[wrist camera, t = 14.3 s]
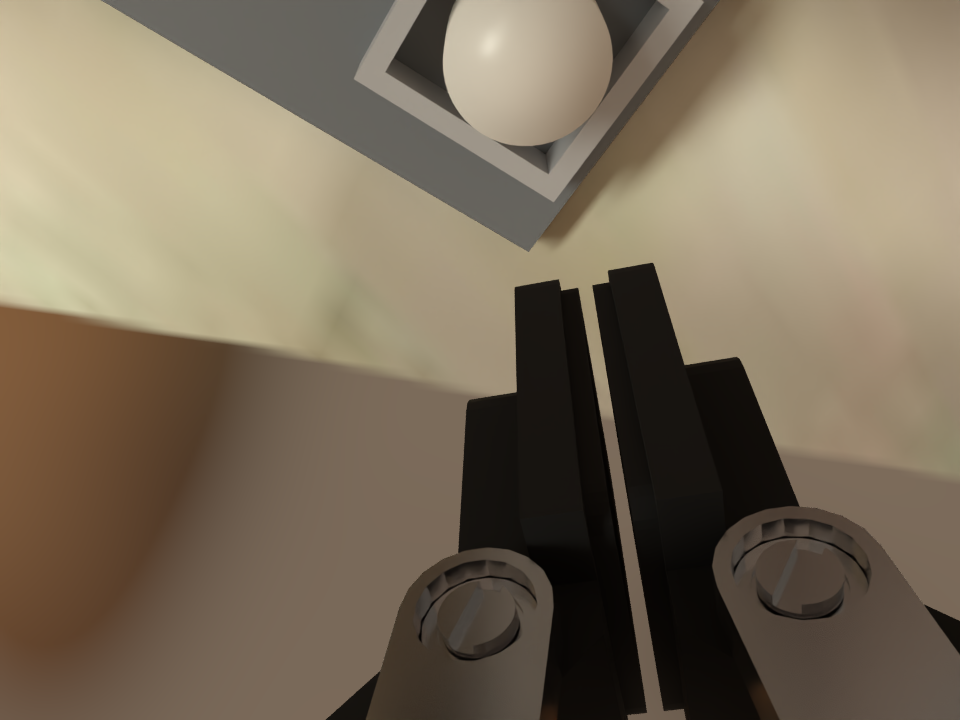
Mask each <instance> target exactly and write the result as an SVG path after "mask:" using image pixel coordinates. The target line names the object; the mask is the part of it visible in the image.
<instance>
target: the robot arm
mask: <svg viewBox="0 0 960 720" xmlns="http://www.w3.org/2000/svg"><path fill="white" fill-rule="evenodd" d="M608 276H609V283H603V284H597V285H592V286H593V293H594V299H595V305H596V311H597V317H598V323H599V329H600V335H601V341H602V347H603V353H604V359H605V365H606V371H607V378H608V384H609V390H610V396H611V402H612V408H613V414H614V420H615V426H616V432H617V438H618V444H619V450H620V456H621V462H622V468H623V474H624V480H625V486H626V492H627V498H628V503H629V510H630V515H631V521H632V526H633V533H634V539H635V545H636V550H637V557H638V562H639V568H640V574H641V580H642V586H643V592H644V598H645V604H646V609H647V615H648V621H649V627H650V632H651V639H652V645H653V651H654V656H655V662H656V668H657V674H658V680H659V686H660V692H661V698H662V703H663V709H664V711H668V710H677V709H684V712H685V716H686V720H960V621H959V620H956V619H954V618H952V617H950V616H948V615H946V614H943V613H941V612H939V611H937V610H935V609H932V608H930V607H928V606H926V605H924V604H923V603H922V602H921V600H920V599H919V597H918V596H917V595H916V593H915V592H914V591H913V589H912V588H911V586H910V585H909V584H908V582H907V581H906V579H905V578H904V576H903V575H902V574H901V572H900V571H899V570H898V568H897V567H896V565H895V564H894V563H893V561H892V560H891V558H890V557H889V556H888V554H887V553H886V552H885V550H884V549H883V548H882V546H881V545H880V544H879V543H878V542H877V541H876V540H875V539H874V538H873V537H872V536H871V535H870V534H869V533H868V532H867V531H866V530H865V529H864V528H863V527H861V526H859V525H857V524H855V523H854V522H852V521H850V520H849V519H847V518H845V517H843V516H841V515H838V514H835V513H831V512H828V511H825V510H821V509H818V508H808V507H800V506H799V504H798V501H797V499H796V496H795V494H794V492H793V489H792V487H791V485H790V481H789V479H788V476H787V474H786V471H785V469H784V467H783V464H782V462H781V459H780V457H779V454H778V451H777V449H776V446H775V444H774V441H773V439H772V436H771V434H770V431H769V429H768V426H767V424H766V421H765V419H764V416H763V414H762V411H761V409H760V406H759V404H758V401H757V399H756V396H755V394H754V391H753V389H752V386H751V384H750V381H749V379H748V376H747V374H746V371H745V369H744V367H743V365H742V363H741V361H740V359H739V358H737V357H733V358H727V359H721V360H715V361H709V362H702V363H696V364H690V365H684V362H683V359H682V356H681V352H680V349H679V346H678V342H677V339H676V336H675V332H674V329H673V326H672V323H671V319H670V316H669V313H668V309H667V306H666V303H665V299H664V296H663V293H662V289H661V286H660V283H659V280H658V276H657V273H656V270H655V266H654V264H653V263H648V264H642V265H637V266H631V267H625V268H620V269H614V270H609V271H608ZM515 332H516V377H517V392H516V393H509V394H503V395H497V396H491V397H485V398H478V399H472V400H469V401H468V403H467V410H466V425H465V443H464V461H463V480H462V496H461V514H460V532H459V549H458V554H455V555H452V556H450V557H447V558H444V559H442V560H441V561H439V562H438V563H437V564H435V565H434V566H432V567H430V568H429V569H427V570H426V571H424V572H423V573H422V574H421V575H420V577H419V578H418V579H417V580H416V581H415V582H414V583H413V584H412V585H411V587H410V588H409V589H408V591H407V593H406V595H405V597H404V599H403V601H402V603H401V605H400V607H399V610H398V614H397V617H396V621H395V624H394V627H393V631H392V634H391V637H390V640H389V644H388V647H387V650H386V654H385V657H384V661H383V664H382V667H381V670H380V672H378V674H376V675H375V676H374V677H373V678H372V679H371V680H370V681H369V682H367V683H366V684H365V685H364V686H363V687H362V688H361V689H360V690H358V691H357V692H356V693H355V694H354V695H353V696H352V697H351V698H349V699H348V700H347V701H346V702H345V703H344V704H343V705H342V706H341V707H340V708H338V709H337V710H336V711H335V712H334V713H333V714H332V715H331V716H329V717H328V718H327V719H326V720H628V717H627V715H631V714H640V713H647V710H646V703H645V696H644V690H643V683H642V676H641V670H640V664H639V657H638V650H637V644H636V637H635V630H634V624H633V617H632V611H631V604H630V598H629V592H628V585H627V578H626V571H625V565H624V558H623V552H622V545H621V539H620V532H619V525H618V519H617V512H616V506H615V499H614V492H613V487H612V479H611V473H610V467H609V461H608V456H607V450H606V444H605V438H604V432H603V427H602V422H601V415H600V410H599V404H598V398H597V392H596V387H595V381H594V375H593V370H592V364H591V358H590V353H589V347H588V341H587V335H586V330H585V324H584V318H583V313H582V307H581V301H580V296H579V290H578V288H574V289H569V290H563V291H561V287H560V282H559V279H558V280H552V281H546V282H541V283H535V284H530V285H524V286H518V287H515Z"/></svg>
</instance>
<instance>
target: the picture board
mask: <svg viewBox="0 0 960 720" xmlns="http://www.w3.org/2000/svg"><path fill="white" fill-rule="evenodd" d="M102 1H103V2H105V3H107V4H108V5H110V6H112V7H113V8H115V9H117V10H119V11H120V12H122V13H124V14H125V15H127V16H129V17H130V18H132V19H134V20H136V21H137V22H139V23H141V24H142V25H144V26H146V27H147V28H149V29H151V30H153V31H154V32H156V33H158V34H159V35H161V36H163V37H164V38H166V39H168V40H170V41H171V42H173V43H175V44H176V45H178V46H180V47H181V48H183V49H185V50H187V51H188V52H190V53H192V54H193V55H195V56H197V57H198V58H200V59H202V60H203V61H205V62H207V63H209V64H210V65H212V66H214V67H215V68H217V69H219V70H220V71H222V72H224V73H226V74H227V75H229V76H231V77H232V78H234V79H236V80H237V81H239V82H241V83H243V84H244V85H246V86H248V87H249V88H251V89H253V90H254V91H256V92H258V93H260V94H261V95H263V96H265V97H266V98H268V99H270V100H271V101H273V102H275V103H277V104H278V105H280V106H282V107H283V108H285V109H287V110H288V111H290V112H292V113H293V114H295V115H297V116H299V117H300V118H302V119H304V120H305V121H307V122H309V123H310V124H312V125H314V126H316V127H317V128H319V129H321V130H322V131H324V132H326V133H327V134H329V135H331V136H333V137H334V138H336V139H338V140H339V141H341V142H343V143H344V144H346V145H348V146H350V147H351V148H353V149H355V150H356V151H358V152H360V153H361V154H363V155H365V156H367V157H368V158H370V159H372V160H373V161H375V162H377V163H378V164H380V165H382V166H383V167H385V168H387V169H389V170H390V171H392V172H394V173H395V174H397V175H399V176H400V177H402V178H404V179H406V180H407V181H409V182H411V183H412V184H414V185H416V186H417V187H419V188H421V189H423V190H424V191H426V192H428V193H429V194H431V195H433V196H434V197H436V198H438V199H440V200H441V201H443V202H445V203H446V204H448V205H450V206H451V207H453V208H455V209H457V210H458V211H460V212H462V213H463V214H465V215H467V216H468V217H470V218H472V219H474V220H475V221H477V222H479V223H480V224H482V225H484V226H485V227H487V228H489V229H490V230H492V231H494V232H496V233H497V234H499V235H501V236H502V237H504V238H506V239H507V240H509V241H511V242H513V243H514V244H516V245H518V246H519V247H521V248H523V249H524V250H526V251H528V252H529V251H530V249H531V248H532V247H533V245H534V244H535V243H536V241H537V240H538V239H539V238H540V236H541V235H542V234H543V232H544V231H545V230H546V228H547V227H548V226H549V224H550V223H551V222H552V220H553V219H554V218H555V216H556V215H557V214H558V213H559V211H560V210H561V209H562V207H563V206H564V205H565V203H566V202H567V201H568V199H569V198H570V197H571V195H572V194H573V193H574V191H575V190H576V189H577V188H578V186H579V185H580V184H581V182H582V181H583V180H584V178H585V177H586V176H587V174H588V173H589V172H590V170H591V169H592V168H593V166H594V165H595V164H596V163H597V161H598V160H599V159H600V157H601V156H602V155H603V153H604V152H605V151H606V149H607V148H608V147H609V145H610V144H611V143H612V141H613V140H614V139H615V137H616V136H617V135H618V134H619V132H620V131H621V130H622V128H623V127H624V126H625V124H626V123H627V122H628V120H629V119H630V118H631V116H632V115H633V114H634V112H635V111H636V110H637V109H638V107H639V106H640V105H641V103H642V102H643V101H644V99H645V98H646V97H647V95H648V94H649V93H650V91H651V90H652V89H653V87H654V86H655V85H656V84H657V82H658V81H659V80H660V78H661V77H662V76H663V74H664V73H665V72H666V70H667V69H668V68H669V66H670V65H671V64H672V62H673V61H674V60H675V59H676V57H677V56H678V55H679V53H680V52H681V51H682V49H683V48H684V47H685V45H686V44H687V43H688V41H689V40H690V39H691V37H692V36H693V35H694V34H695V32H696V31H697V30H698V28H699V27H700V26H701V24H702V23H703V22H704V20H705V19H706V18H707V16H708V15H709V14H710V12H711V11H712V10H713V9H714V7H715V6H716V5H717V3H718V2H719V1H720V0H595V1H596V3H597V5H598V7H599V9H600V12H601V14H602V16H603V18H604V21H605V23H606V25H607V28H608V31H609V34H610V38H611V43H612V53H613V62H612V72H611V77H610V81H609V84H608V87H607V90H606V92H605V94H604V96H603V99H602V101H601V102H600V104H599V105H598V107H597V108H596V110H595V111H594V112H593V114H592V115H591V116H590V117H589V118H588V119H587V120H586V121H585V122H584V123H583V124H582V125H581V126H580V127H578V128H577V129H576V130H574V131H573V132H572V133H570V134H568V135H566V136H564V137H563V138H560V139H558V140H555V141H553V142H549V143H546V144H542V145H535V146H516V145H509V144H505V143H501V142H498V141H496V140H493V139H490V138H489V137H487V136H485V135H483V134H481V133H480V132H479V131H477V130H476V129H474V128H473V127H472V126H471V125H470V124H469V123H468V122H467V121H466V120H465V119H464V118H463V117H462V116H461V114H460V113H459V112H458V110H457V109H456V107H455V106H454V104H453V102H452V100H451V98H450V96H449V93H448V90H447V87H446V84H445V79H444V73H443V52H444V44H445V37H446V29H447V24H448V19H449V15H450V13H451V10H452V7H453V5H454V3H455V1H456V0H102Z"/></svg>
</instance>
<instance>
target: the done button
mask: <svg viewBox="0 0 960 720" xmlns="http://www.w3.org/2000/svg"><path fill="white" fill-rule="evenodd" d="M612 62H613V53H612V43H611V38H610V34H609V31H608V28H607V25H606V23H605V21H604V18H603V16H602V14H601V12H600V9H599V7H598V5H597V3H596V1H595V0H456V1H455V3H454V5H453V7H452V10H451V13H450V15H449V19H448V24H447V29H446V37H445V44H444V52H443V73H444V79H445V84H446V87H447V90H448V93H449V96H450V98H451V100H452V102H453V104H454V106H455V107H456V109H457V110H458V112H459V113H460V114H461V116H462V117H463V118H464V119H465V120H466V121H467V122H468V123H469V124H470V125H471V126H472V127H473V128H474V129H476V130H477V131H479V132H480V133H481V134H483V135H485V136H487V137H489V138H490V139H493V140H496V141H498V142H501V143H505V144H509V145H516V146H535V145H542V144H546V143H549V142H553V141H555V140H558V139H560V138H563V137H564V136H566V135H568V134H570V133H572V132H573V131H574V130H576V129H577V128H578V127H580V126H581V125H582V124H583V123H584V122H585V121H586V120H587V119H588V118H589V117H590V116H591V115H592V114H593V112H594V111H595V110H596V108H597V107H598V105H599V104H600V102H601V101H602V99H603V96H604V94H605V92H606V90H607V87H608V84H609V81H610V77H611V72H612Z"/></svg>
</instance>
